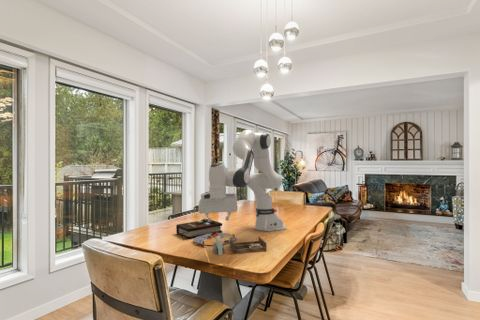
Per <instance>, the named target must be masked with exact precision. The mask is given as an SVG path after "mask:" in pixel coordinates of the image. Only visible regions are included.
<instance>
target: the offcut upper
mask: <svg viewBox="0 0 480 320" xmlns="http://www.w3.org/2000/svg"><path fill="white" fill-rule="evenodd" d="M250 247H252V248H257V247H261V245H259V244H251V245H250Z"/></svg>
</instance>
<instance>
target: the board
mask: <svg viewBox="0 0 480 320" xmlns="http://www.w3.org/2000/svg"><path fill="white" fill-rule="evenodd" d="M215 243H216V245H215V246H216V248H217V254H218V256H223V253H222V245H223V241H222V239H220V237H219V236H216V239H215Z"/></svg>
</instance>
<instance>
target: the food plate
mask: <svg viewBox="0 0 480 320" xmlns="http://www.w3.org/2000/svg"><path fill="white" fill-rule="evenodd" d="M216 236H219V237H220V239H221V240H222V239H223V240H224V241H223V244H224V245H226V244H230V239H232V241H233V242H234V241H236V240H237V238H236V236H235V234H234V233H233V234H230V233H226V232H222V233H217V232H213V233H211V234H204V235H201V236H198V237H196V238H194V239H193V241H194V243H196V244H199V245H204V246H206V244H205V240H206V239H207V240H216ZM207 240H206V241H207ZM201 242H202V243H201ZM213 244H215V246H216V242H212V243H211V245H213Z"/></svg>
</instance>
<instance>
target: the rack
mask: <svg viewBox="0 0 480 320" xmlns="http://www.w3.org/2000/svg"><path fill="white" fill-rule="evenodd" d="M257 239H258V240H252V241H251V240H250V241H241V242H234V241H232V240H233V239H230V240H229V241H230V242H229V248H230V249H231V251H232V253H233V254H234V255H235V254H246V253H255V252H257V253H258V252H267V242H266V241H265V240H264V238H262V237H260V236H258V237H257ZM251 244H259V245H261V246H262V247H257V248H249V246H250V245H251Z"/></svg>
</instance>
